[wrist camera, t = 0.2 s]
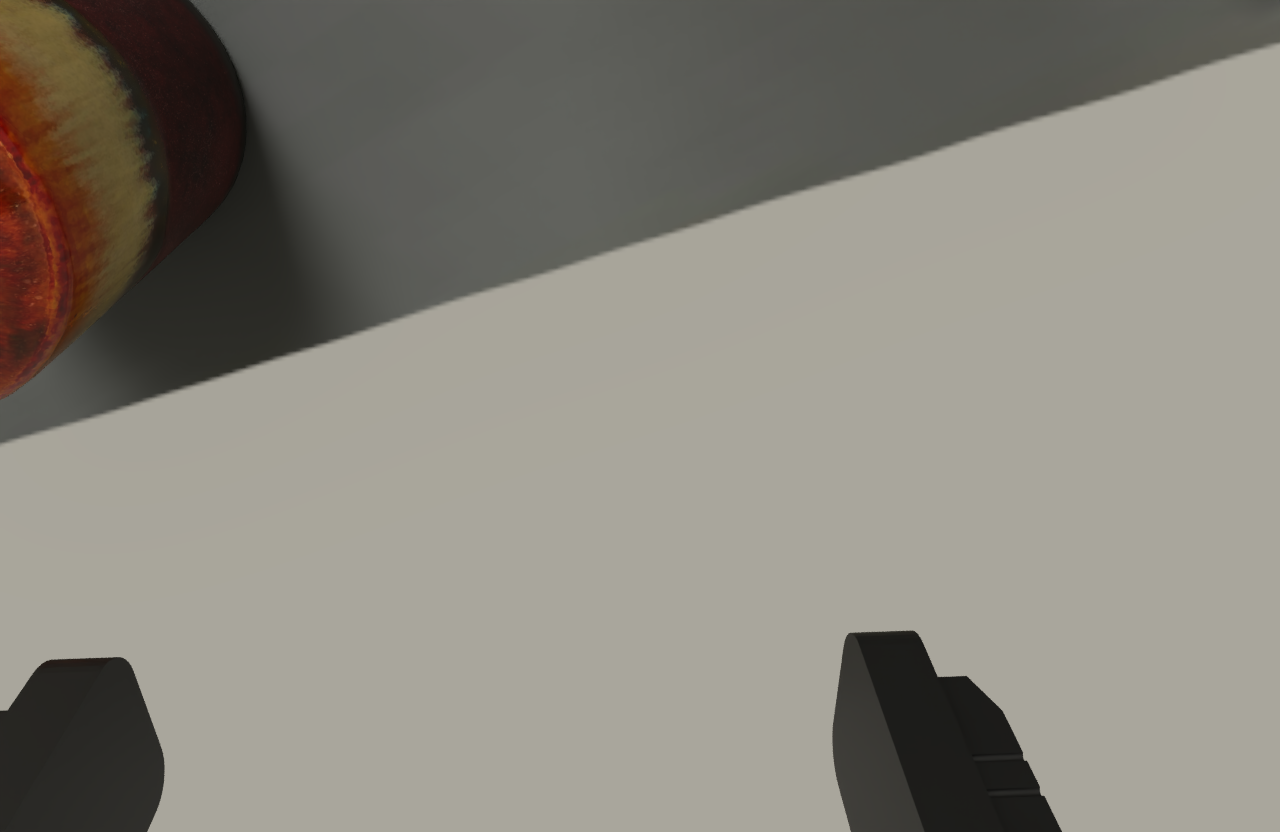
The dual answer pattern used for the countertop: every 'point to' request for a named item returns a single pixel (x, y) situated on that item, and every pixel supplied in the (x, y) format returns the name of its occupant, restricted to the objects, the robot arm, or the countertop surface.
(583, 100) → the countertop surface
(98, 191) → the vase
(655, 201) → the countertop surface
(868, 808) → the robot arm
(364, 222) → the countertop surface
